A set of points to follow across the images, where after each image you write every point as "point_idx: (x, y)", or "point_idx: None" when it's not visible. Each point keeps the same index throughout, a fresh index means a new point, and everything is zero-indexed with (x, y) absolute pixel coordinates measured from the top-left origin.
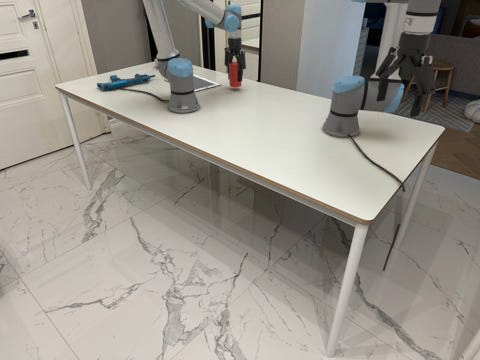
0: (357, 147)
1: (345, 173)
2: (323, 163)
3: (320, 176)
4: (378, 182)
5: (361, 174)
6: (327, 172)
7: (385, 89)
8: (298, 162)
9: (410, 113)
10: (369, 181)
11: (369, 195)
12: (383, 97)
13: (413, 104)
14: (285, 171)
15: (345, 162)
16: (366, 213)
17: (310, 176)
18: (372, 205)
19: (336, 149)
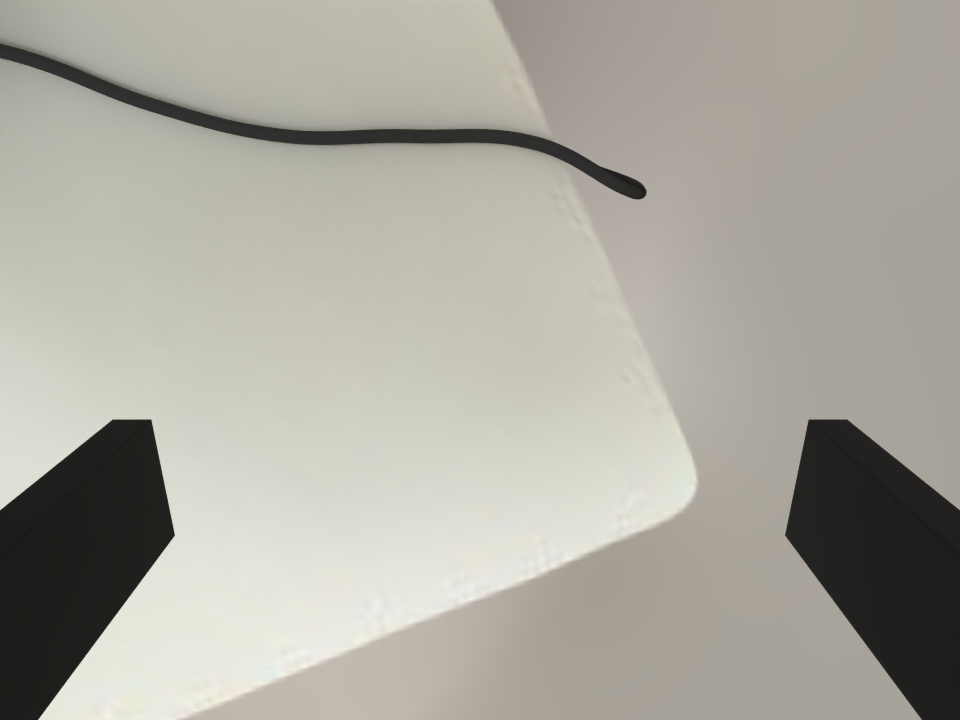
0: (81, 84)
1: (357, 365)
2: (222, 409)
3: (340, 492)
4: (503, 260)
5: (397, 291)
6: (316, 442)
7: (38, 577)
8: (177, 516)
9: (804, 560)
10: (475, 299)
11: (577, 384)
12: (130, 484)
13: (896, 673)
14: (245, 604)
15: (247, 289)
16: (673, 481)
17: (324, 531)
18: (644, 423)
19: (72, 236)
